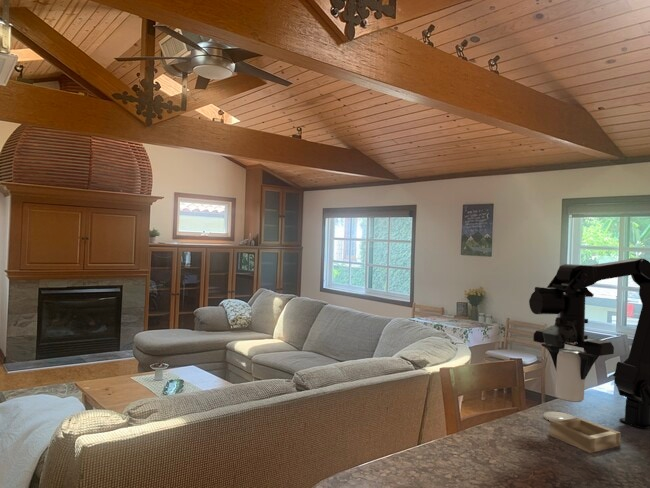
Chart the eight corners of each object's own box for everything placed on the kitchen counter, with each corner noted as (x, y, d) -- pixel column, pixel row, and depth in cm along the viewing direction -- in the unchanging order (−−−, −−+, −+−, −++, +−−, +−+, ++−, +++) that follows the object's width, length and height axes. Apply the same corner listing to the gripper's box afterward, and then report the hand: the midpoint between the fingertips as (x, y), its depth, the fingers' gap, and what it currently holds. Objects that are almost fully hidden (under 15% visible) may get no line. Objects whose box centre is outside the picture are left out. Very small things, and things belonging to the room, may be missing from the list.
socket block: (578, 429, 123) (579, 417, 123) (620, 445, 114) (620, 432, 114) (549, 435, 119) (550, 422, 118) (590, 452, 109) (590, 439, 109)
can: (587, 403, 121) (589, 354, 121) (559, 401, 122) (561, 352, 122) (578, 395, 128) (580, 349, 128) (552, 393, 129) (554, 347, 129)
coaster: (557, 412, 135) (557, 410, 135) (584, 422, 128) (584, 420, 128) (537, 416, 132) (537, 413, 132) (563, 426, 125) (563, 424, 125)
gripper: (519, 310, 129) (518, 370, 129) (586, 321, 113) (584, 390, 113) (548, 308, 135) (546, 365, 135) (616, 319, 118) (614, 384, 118)
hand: (570, 375), depth 125 cm, fingers closed on can, 6 cm apart
